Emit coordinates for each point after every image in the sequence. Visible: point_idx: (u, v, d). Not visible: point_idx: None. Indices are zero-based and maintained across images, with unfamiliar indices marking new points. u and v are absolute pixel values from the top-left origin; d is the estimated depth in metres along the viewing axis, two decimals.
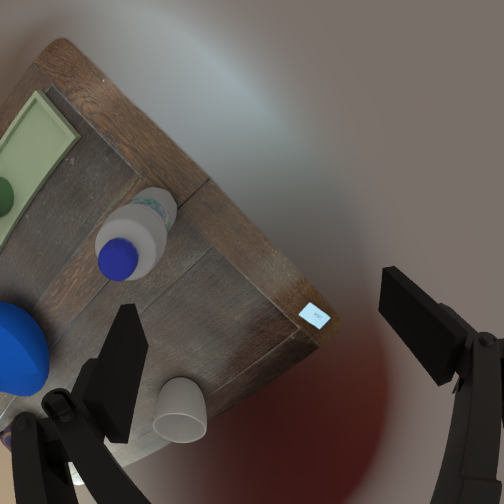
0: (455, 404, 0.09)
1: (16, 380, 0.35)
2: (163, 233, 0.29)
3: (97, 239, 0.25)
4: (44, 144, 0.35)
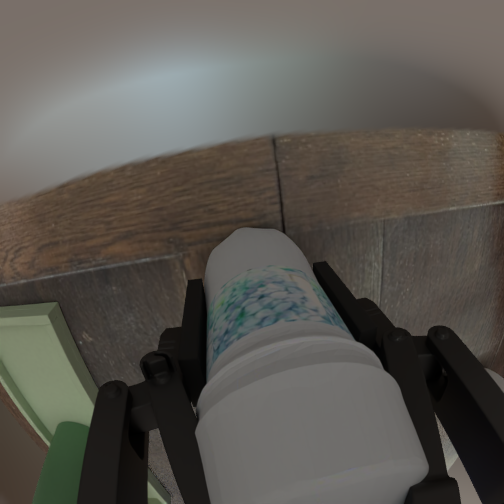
0: None
1: None
2: (369, 374, 0.07)
3: None
4: (41, 355, 0.21)
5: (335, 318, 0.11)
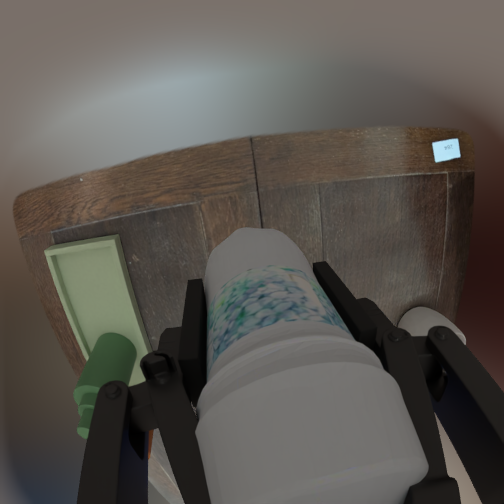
0: None
1: None
2: (369, 373, 0.07)
3: None
4: (100, 274, 0.37)
5: (335, 318, 0.11)
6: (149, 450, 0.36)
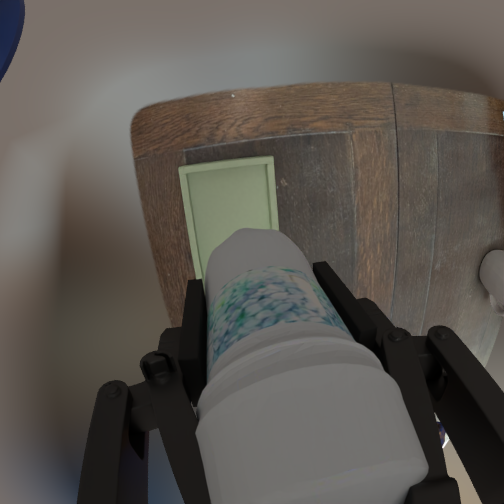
0: None
1: None
2: (369, 375, 0.07)
3: None
4: (243, 198, 0.36)
5: (335, 319, 0.11)
6: None
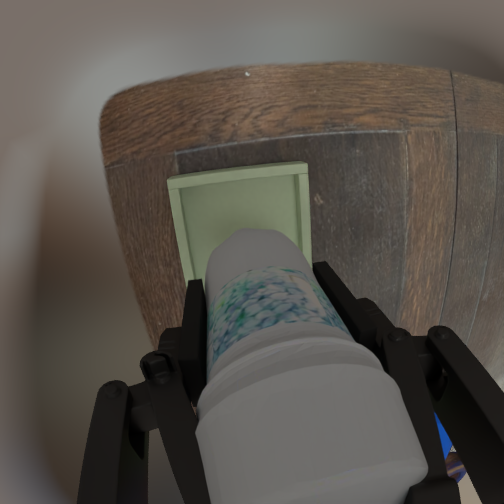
0: None
1: (445, 455, 0.27)
2: (369, 375, 0.07)
3: None
4: (262, 222, 0.25)
5: (335, 319, 0.11)
6: None
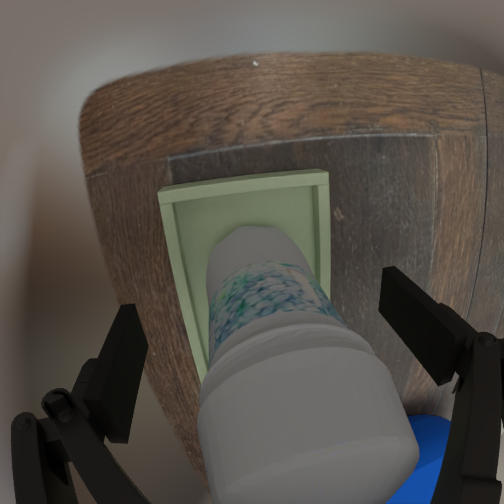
0: (455, 404, 0.09)
1: None
2: (360, 358, 0.08)
3: None
4: None
5: (330, 309, 0.11)
6: None
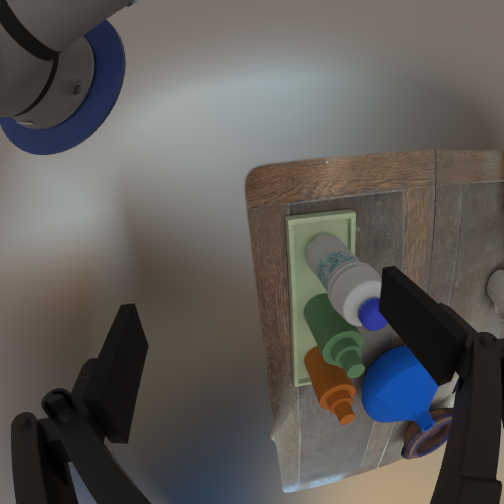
0: (455, 404, 0.09)
1: (434, 387, 0.49)
2: (371, 269, 0.34)
3: (346, 317, 0.33)
4: None
5: None
6: None
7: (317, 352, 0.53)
